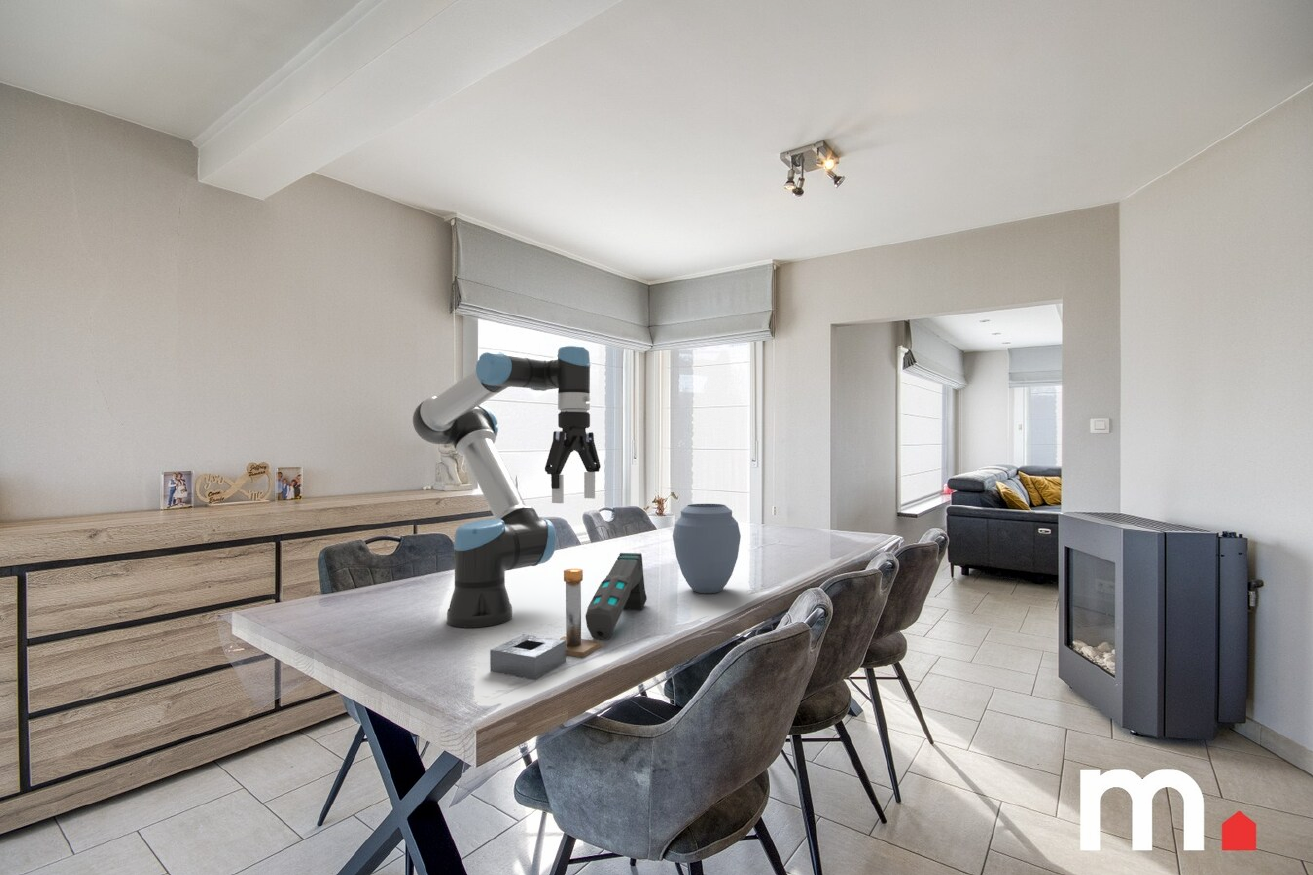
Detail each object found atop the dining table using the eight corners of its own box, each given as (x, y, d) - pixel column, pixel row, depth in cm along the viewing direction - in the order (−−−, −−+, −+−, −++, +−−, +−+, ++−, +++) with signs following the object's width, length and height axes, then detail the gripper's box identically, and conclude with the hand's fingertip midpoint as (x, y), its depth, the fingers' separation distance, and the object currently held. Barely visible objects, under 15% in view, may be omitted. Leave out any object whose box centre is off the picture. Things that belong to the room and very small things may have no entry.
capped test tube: (581, 647, 120) (580, 572, 120) (562, 646, 120) (561, 572, 120) (584, 641, 123) (584, 568, 124) (566, 640, 124) (566, 568, 124)
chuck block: (490, 671, 110) (490, 649, 110) (523, 654, 119) (523, 634, 119) (535, 679, 106) (535, 657, 106) (566, 661, 115) (566, 640, 115)
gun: (648, 597, 156) (643, 546, 152) (618, 672, 129) (611, 611, 125) (624, 596, 158) (619, 545, 154) (590, 670, 130) (582, 610, 126)
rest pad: (545, 651, 120) (545, 646, 120) (564, 641, 127) (564, 636, 127) (583, 657, 117) (583, 652, 117) (601, 646, 123) (601, 641, 123)
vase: (744, 584, 178) (743, 502, 178) (738, 600, 159) (737, 509, 159) (680, 581, 182) (679, 501, 183) (666, 597, 163) (666, 508, 164)
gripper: (556, 408, 129) (556, 506, 129) (613, 413, 152) (614, 496, 151) (528, 409, 132) (528, 504, 132) (588, 414, 155) (589, 495, 155)
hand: (574, 500), depth 142 cm, fingers open, 13 cm apart
